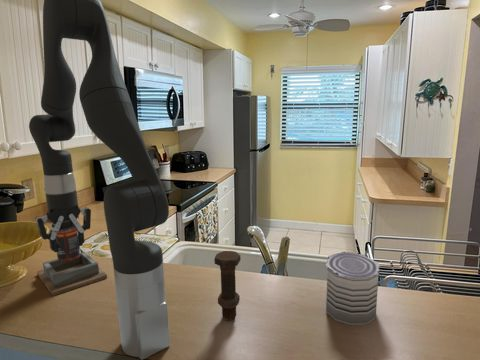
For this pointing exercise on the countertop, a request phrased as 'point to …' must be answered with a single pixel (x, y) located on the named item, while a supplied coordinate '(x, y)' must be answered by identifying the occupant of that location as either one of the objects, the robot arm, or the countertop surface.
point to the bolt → (228, 283)
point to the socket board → (70, 274)
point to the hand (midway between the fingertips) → (68, 247)
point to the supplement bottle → (68, 242)
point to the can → (352, 288)
